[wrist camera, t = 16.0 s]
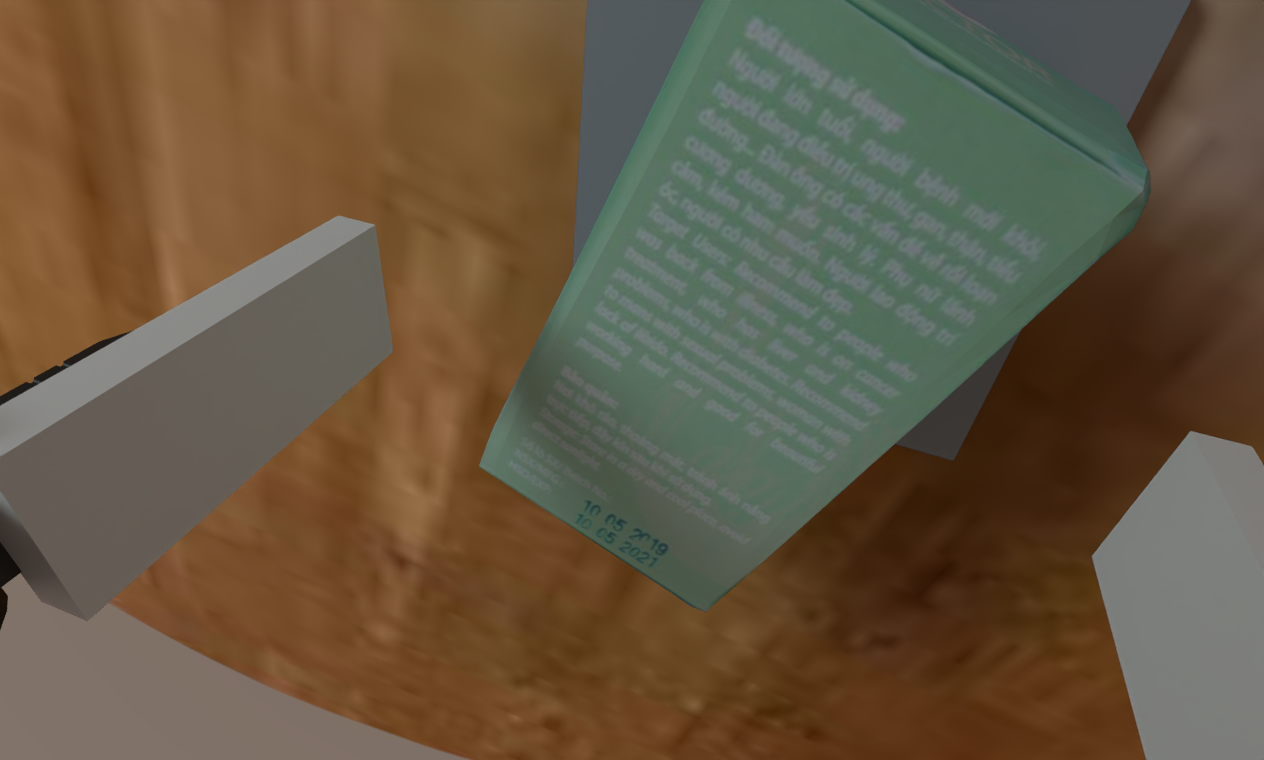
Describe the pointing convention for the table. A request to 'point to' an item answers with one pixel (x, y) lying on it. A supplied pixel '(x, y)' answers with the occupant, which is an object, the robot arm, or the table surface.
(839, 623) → the table surface
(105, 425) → the robot arm
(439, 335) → the table surface
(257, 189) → the table surface
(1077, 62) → the mat
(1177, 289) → the table surface
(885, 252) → the box
